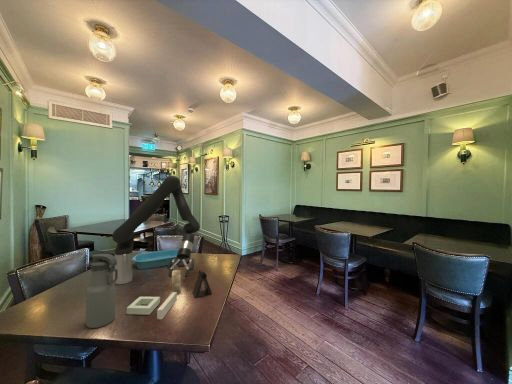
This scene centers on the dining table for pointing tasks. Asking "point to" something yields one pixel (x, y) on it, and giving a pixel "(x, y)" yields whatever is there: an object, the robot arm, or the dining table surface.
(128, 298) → the dining table surface
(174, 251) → the casserole dish
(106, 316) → the water bottle
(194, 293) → the phone stand
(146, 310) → the pale green square frame
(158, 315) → the backstop wall
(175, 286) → the dowel
